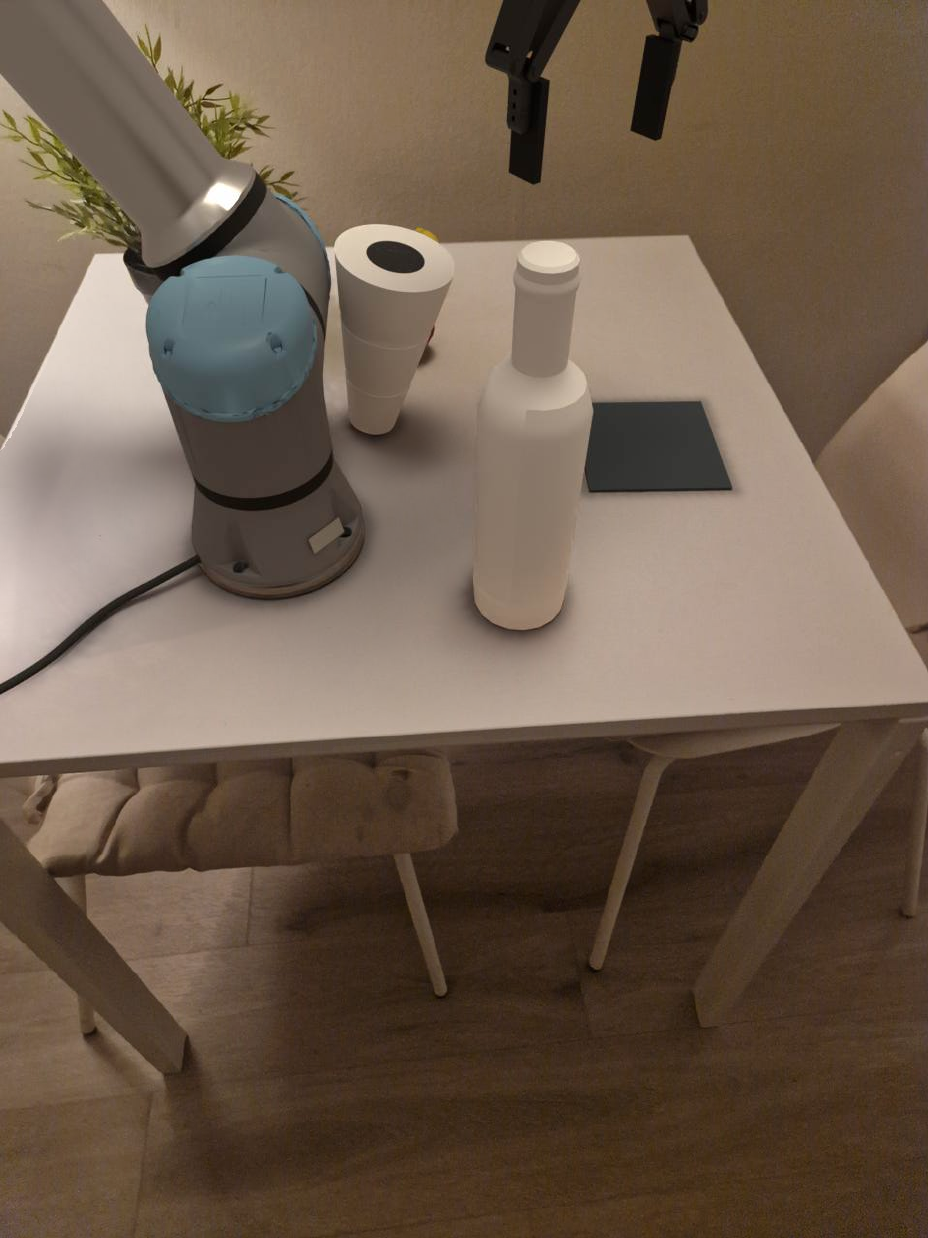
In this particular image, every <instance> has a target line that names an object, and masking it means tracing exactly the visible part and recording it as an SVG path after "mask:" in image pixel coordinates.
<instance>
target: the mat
mask: <svg viewBox="0 0 928 1238" xmlns="http://www.w3.org/2000/svg"><path fill="white" fill-rule="evenodd" d="M592 407H593V416H592V423H591V429H590V435H589V442H588V448H587V454H586V461H585V467H584V473H585V477H586V482H587V483H586V484H587V488H588V492H589V493H609V492H610V493H611V492H617V493H619V492H622V493H623V492H674V491H675V492H676V491H677V492H678V491H680V492H681V491H727V490H728V491H732V490H733V485H732V482H731V480H730V477H729V474H728V472H727V469H726V466H725V463H724V460H723V457H722V455H721V452H720V449H719V446H718V444H717V441H716V439H715V436H714V433H713V430H712V427H711V425H710V422H709V420H708V417H707V414H706V410H705V408H704V406H703V403H702V401H701V400H683V401H681V400H680V401H679V400H678V401H677V400H676V401H674V400H673V401H612V402H611V401H609V402H608V401H604V402H599V401H598V402H592Z"/></svg>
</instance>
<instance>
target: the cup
mask: <svg viewBox="0 0 928 1238" xmlns="http://www.w3.org/2000/svg"><path fill="white" fill-rule="evenodd" d="M413 230H414V229H409V228H406V227H402V226H398V225H392V224H383V223H382V224H381V223H371V224H363V225H357V226H354V227H350V228H348V229H346V230H344V231H343V232H342V233H340V234H339V236H338V237H337V238H336V239H335V242H334V246H333V247H334V248H333V250H334V263H335V274H336V284H337V285H336V286H337V296H338V297H337V298H338V308H339V312H340V314H339V317H340V329H341V339H342V340H341V341H342V350H343V358H344V369H345V372H344V373H345V374H344V375H345V384H346V395H347V396H346V397H347V408H348V418H349V419H348V420H349V422H350V424H351V425H352V426H353V427H354V428H355V429H356V430H358V431H359V432H362V433H365V434H368V435H383V434H387V433H389V432H391V431H392V430H393V429H394V427H395V425H396V423H397V420H398V417H399V415H400V412H401V410H402V407H403V404H404V402H405V399H406V397H407V395H408V392H409V390H410V387H411V384H412V381H413V379H414V377H415V374H416V371H417V369H418V367H419V363H420V361H421V359H422V357H423V354H424V352H425V348H426V347H427V346H426V344H427V342H428V339H429V337H430V334H431V330H432V329H433V327H434V325H435V326H436V322H437V320H438V317H439V315H440V313H441V310H442V307H443V305H444V302H445V300H446V296H447V294H448V293H449V290H450V287H451V284H452V282H453V279H454V277H455V274H456V264H455V260H454V258H453V256H452V254H451V253H450V252H449V251H448V250H447V249H446V248H445V247H444V246H443V245H442V244H441V243H440V242H439V243H440V244H439V243H437V242H436V241H434V240H433V239H431V238H429V237H427V236H425V235H423V234H421V233H418V232H416V231H413Z"/></svg>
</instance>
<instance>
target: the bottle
mask: <svg viewBox="0 0 928 1238" xmlns="http://www.w3.org/2000/svg"><path fill="white" fill-rule="evenodd" d="M580 264H581V257H580V254H579V253H578V252H577V251H576V250H575V249H574V248H573V247H571V246H570V245H569V244H566V243H565V242H561V241H557V240H556V241H555V240H540V241H539V240H538V241H534V242H531V243H528V244H527V245H526V246H523V248H521V249H520V250H519V251H518V254H517V256H516V268H515V269H514V272H513V273H512V274H513V276H512V281H513V285H514V305H513V319H512V320H513V322H512V336H511V337H512V340H511V354H510V355H508V356H507V357H505V358H504V359H502V360H501V361H500V362H498V363H497V364H496V365H495V366H494V367H492V369H491V372H490V373H489V376H488V378H487V380H486V382H485V384H484V387H483V388H482V392H481V393H480V397H479V400H478V402H477V416H476V417H477V422H476V461H475V462H476V463H475V464H476V466H475V467H476V468H475V469H476V471H475V512H474V513H475V514H474V555H473V556H474V559H473V561H474V562H473V568H472V584H473V585H472V586H473V598H474V604H475V606H476V608H477V609H478V610H479V612H480V614H481V616H483V617H484V618H485V619H487V620H489V622H490V623H492V624H494V625H496V626H499V627H501V628H505V629H507V630H517V631H526V630H527V631H528V630H532V629H537V628H541V627H543V626H544V625H546V624H548V623H550V622H552V621H553V620H554V619H555V618H556V617H557V615H559V613H560V611H562V608H563V603H564V599H565V595H566V592H567V587H568V582H569V568H570V563H571V556H572V550H573V549H572V548H573V544H574V543H573V542H574V536H575V531H576V525H577V524H576V523H577V518H578V510H579V505H580V500H581V499H580V498H581V491H582V485H583V479H584V473H585V468H584V467H585V461H586V454H587V448H588V442H589V435H590V429H591V423H592V416H593V407H592V403H593V402H592V397H591V394H590V390H589V386H588V383H587V382H588V381H587V378H586V374H585V373H584V372H583V371H582V370H581V368H579V367H578V365H576V364H575V363H574V361H572V360H571V359H569V356H570V348H571V339H572V330H573V323H574V316H575V315H574V314H575V305H576V298H577V292H578V290H579V287H580V285H581V280H582V279H581V278H582V277H581V273H580Z"/></svg>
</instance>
